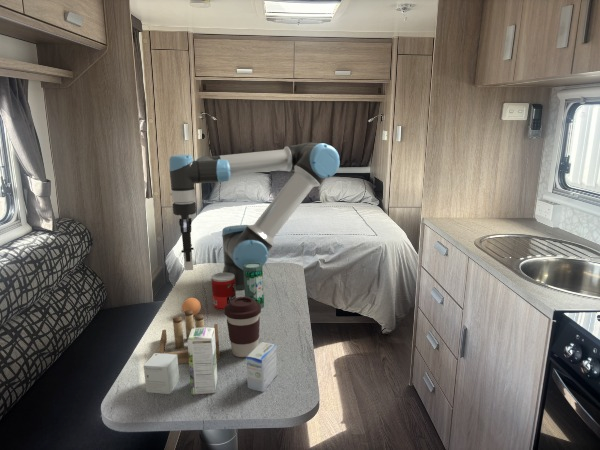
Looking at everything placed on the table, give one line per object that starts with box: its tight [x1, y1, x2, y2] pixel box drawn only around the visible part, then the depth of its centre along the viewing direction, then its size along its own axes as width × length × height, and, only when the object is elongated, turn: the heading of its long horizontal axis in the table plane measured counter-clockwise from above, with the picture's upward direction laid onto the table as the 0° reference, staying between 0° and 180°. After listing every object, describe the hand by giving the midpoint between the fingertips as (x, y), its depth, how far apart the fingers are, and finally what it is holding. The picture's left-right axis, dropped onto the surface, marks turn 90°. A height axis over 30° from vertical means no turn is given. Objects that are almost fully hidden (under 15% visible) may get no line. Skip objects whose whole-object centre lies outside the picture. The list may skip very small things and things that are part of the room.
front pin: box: [183, 310, 195, 342], centre depth 132 cm, size 2×2×9 cm
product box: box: [143, 352, 180, 395], centre depth 109 cm, size 6×6×7 cm
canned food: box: [211, 271, 237, 311], centre depth 155 cm, size 8×8×11 cm
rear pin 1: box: [172, 316, 185, 350], centre depth 128 cm, size 2×2×9 cm
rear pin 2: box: [194, 313, 205, 328], centre depth 129 cm, size 2×2×9 cm
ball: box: [181, 297, 202, 317], centre depth 149 cm, size 6×6×6 cm
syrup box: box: [187, 327, 218, 396], centre depth 108 cm, size 6×6×14 cm
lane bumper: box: [157, 323, 221, 365], centre depth 128 cm, size 16×15×3 cm
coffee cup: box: [223, 296, 262, 358], centre depth 124 cm, size 10×10×15 cm
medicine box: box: [245, 341, 278, 393], centre depth 110 cm, size 8×4×9 cm, turn 157°
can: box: [243, 262, 265, 309], centre depth 154 cm, size 6×6×15 cm
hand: (189, 269), depth 155 cm, fingers closed
